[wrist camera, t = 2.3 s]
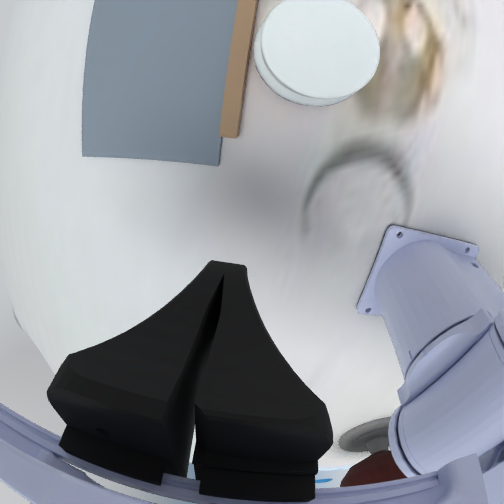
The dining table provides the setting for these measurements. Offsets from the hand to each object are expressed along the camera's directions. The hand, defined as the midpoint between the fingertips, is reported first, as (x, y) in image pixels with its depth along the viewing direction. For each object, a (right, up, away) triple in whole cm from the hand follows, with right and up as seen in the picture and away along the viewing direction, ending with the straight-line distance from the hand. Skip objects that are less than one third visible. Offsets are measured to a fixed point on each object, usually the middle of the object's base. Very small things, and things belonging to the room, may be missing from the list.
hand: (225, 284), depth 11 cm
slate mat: (-5, +13, +3) cm, 15 cm away
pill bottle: (+4, +12, +4) cm, 13 cm away
